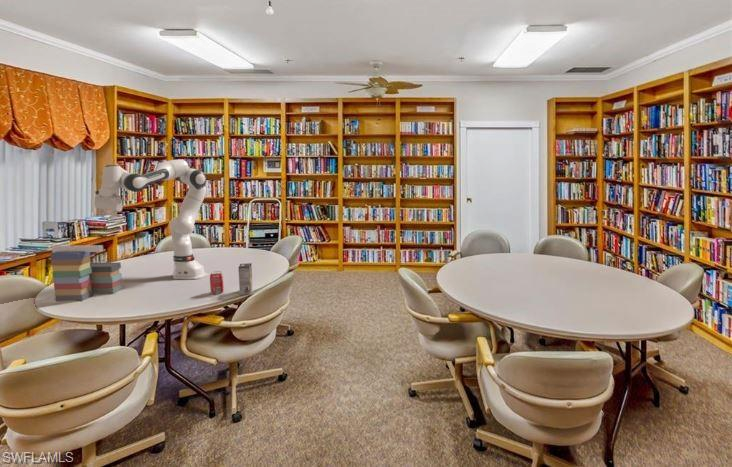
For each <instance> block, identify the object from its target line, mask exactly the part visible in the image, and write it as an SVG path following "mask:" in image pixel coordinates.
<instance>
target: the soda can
mask: <svg viewBox="0 0 732 467" xmlns="http://www.w3.org/2000/svg"><path fill="white" fill-rule="evenodd" d="M209 284H210V285H209V286H210V288H209V289H210V293H211V294H213V295H219V294H222V293H224V291H225V290H224V288H225V287H224V274H223V273H222V271H219V270H218V271H217V270H216V271H212V272H210V275H209Z"/></svg>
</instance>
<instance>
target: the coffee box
mask: <svg viewBox="0 0 732 467" xmlns="http://www.w3.org/2000/svg"><path fill="white" fill-rule="evenodd" d="M252 269H253V268H252V262H250V263H240V264H239V266H238V283H239V284H238V285H239V287H238V288H239V295H251V294H252V291H253V273H252V272H253V271H252Z"/></svg>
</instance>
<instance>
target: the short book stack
mask: <svg viewBox="0 0 732 467" xmlns="http://www.w3.org/2000/svg"><path fill="white" fill-rule="evenodd" d="M121 264H122V263H121V262H90V267H91V269H92V273H90V274H89V276H90V278H92V283H93V284H92V285H91V290H93V295H114V294H116V293H118V292H120V291H121V290H122V289H123V286H122V279H123V278H122V272H120V269H121V268H122V265H121Z"/></svg>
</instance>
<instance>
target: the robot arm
mask: <svg viewBox="0 0 732 467" xmlns="http://www.w3.org/2000/svg"><path fill="white" fill-rule="evenodd" d="M176 178H177V179H178V180H179V182H180V183H182V184H184V185H188V191H187V193H186V195H185V196H184V198H183V201H182V203H181V205H180V209H179V212H178V216H175V217H173V218H172V219H171V220H170V221H169V230H170V235H171V240H172V247H173V256H172V257H173V262H174V264H173V274H172V278H173V279H174V280H199V279H202V278H205V277H207V276H209V272H205V267H204V265H202V264H200V263H199V262H198V261H197V260H196V255H194V254H193V248H192V247H193V245H192V241H191V236H190V234H192V232H194V229H195V223H196V219H197V216H198V213H199V211H200V208H201V206H202V204H203V202H204V199H205V198H206V194H207V188H206V183H207V175H206V173H204V172H203V171H202V170H200V169H196V168H190V167H189V164H188V162H187V161H186V160H185V159H182V158H181V159H171V160H166V161H163V162H160V163H159V164H157V165H156V166H155V170H154V171H151V172H150V171H149V172H148V173H144V174H140V173H130V172H129V171H127V170H125V169H124V168H123V167H121V165H119V164H106V165H105V166H104V168H103V171H102V175H101V185H100V188H99V189H97V190H95V191H94V195H95V196H94V201H93V202H94V208H97V209H98V212H99V217H101V218H104V217H105V213H104V211H105V210H106V211H111V215H109V219H111V220H115V218H116V215H117V213H121V212H122V210H123V199H122V197H121V195H120V189H122V190H127V191H130V192H132V193H133V192H134V193H138V192H141V191H142V190H144V189H145V188H146V187H148V186H149V185H152V184H155V183H159V182H161V181H168V180H173V179H176Z"/></svg>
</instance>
